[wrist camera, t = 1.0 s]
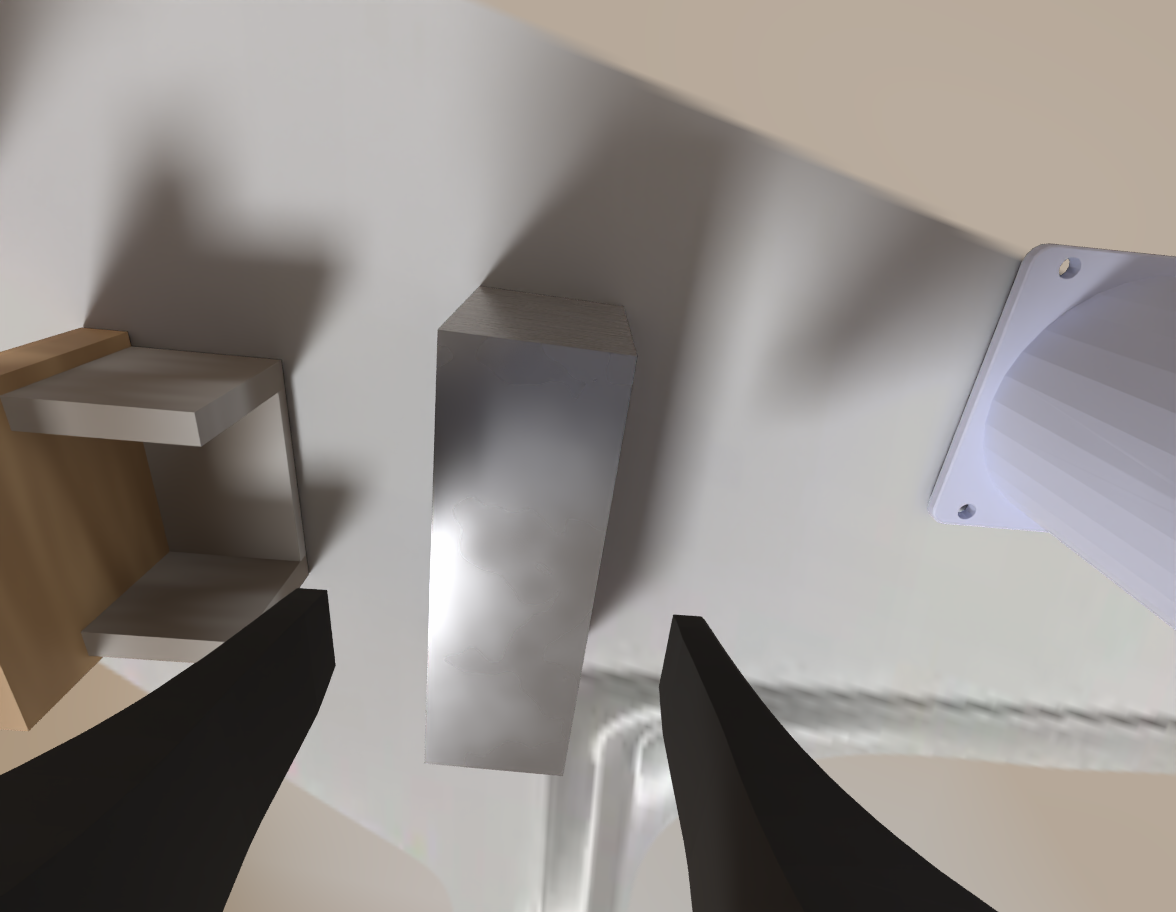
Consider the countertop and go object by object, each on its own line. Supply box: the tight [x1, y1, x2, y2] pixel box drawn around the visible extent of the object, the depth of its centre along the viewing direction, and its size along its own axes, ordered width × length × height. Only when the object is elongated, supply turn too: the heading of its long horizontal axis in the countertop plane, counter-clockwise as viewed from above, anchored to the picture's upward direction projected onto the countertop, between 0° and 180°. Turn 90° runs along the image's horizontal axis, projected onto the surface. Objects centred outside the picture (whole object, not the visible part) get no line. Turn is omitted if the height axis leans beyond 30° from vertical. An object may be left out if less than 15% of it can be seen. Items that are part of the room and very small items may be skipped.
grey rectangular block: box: [424, 286, 637, 776], centre depth 16 cm, size 12×4×5 cm, turn 172°
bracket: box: [0, 328, 309, 731], centre depth 15 cm, size 5×8×6 cm, turn 175°
